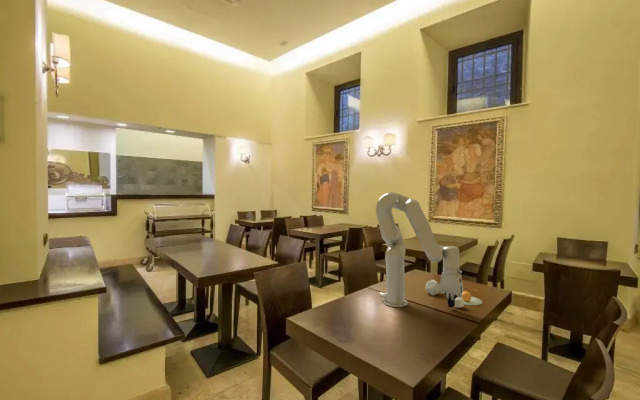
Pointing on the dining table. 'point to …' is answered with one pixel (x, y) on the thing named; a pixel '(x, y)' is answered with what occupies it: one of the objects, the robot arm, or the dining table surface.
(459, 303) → the cue ball
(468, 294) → the object ball
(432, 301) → the dining table surface
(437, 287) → the die
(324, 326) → the dining table surface
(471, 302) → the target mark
